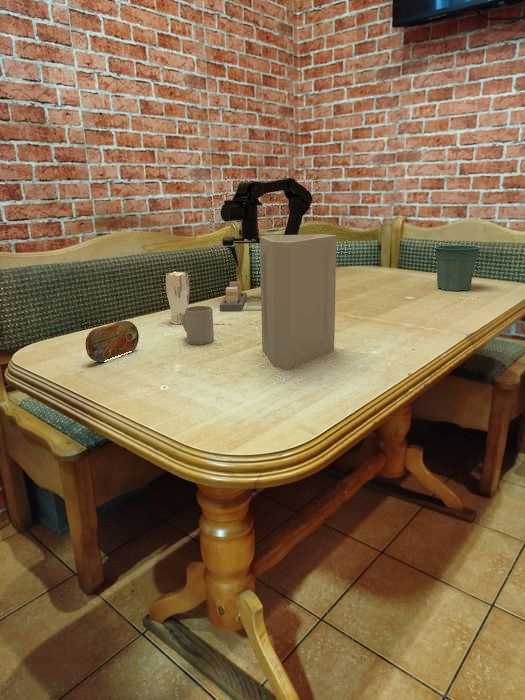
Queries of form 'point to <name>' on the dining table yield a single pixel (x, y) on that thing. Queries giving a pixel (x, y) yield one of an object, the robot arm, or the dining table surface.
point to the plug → (232, 295)
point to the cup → (198, 324)
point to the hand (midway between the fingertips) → (250, 265)
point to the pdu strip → (234, 306)
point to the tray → (252, 307)
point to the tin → (111, 340)
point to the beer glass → (177, 294)
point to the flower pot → (455, 266)
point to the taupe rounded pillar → (297, 297)
